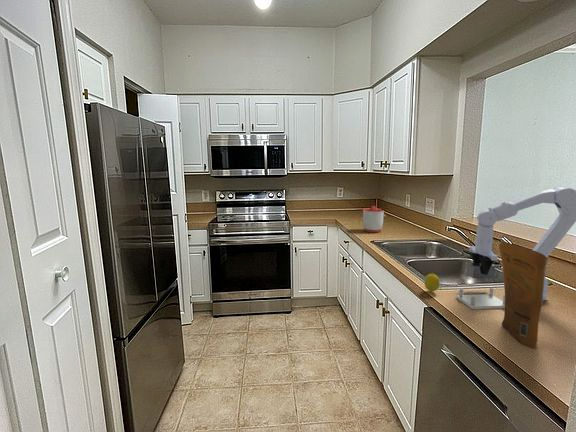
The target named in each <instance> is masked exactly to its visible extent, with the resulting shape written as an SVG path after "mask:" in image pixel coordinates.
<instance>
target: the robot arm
mask: <svg viewBox="0 0 576 432" xmlns="http://www.w3.org/2000/svg"><path fill="white" fill-rule="evenodd" d="M540 204H552V205H555V206H556V208H557V211H558V213H559V215H558V216H557V217H556V218H555V220H554V221H553V223H552V224H551V225H550V226H549V228H548V229H547V231H546V232H545V233H544V234H543V236H541V238H540V240H539V241H538V242H537V244H536V245H535V246H534V247H533V249H532V250H534V251H536V252H539V253H541V254H543V255H545V256H546V257H547V258H548V259H549V256H550V254H551V253H553V251H554V250H555V249H556V247H557V246H558V245H559V243H560V242H561V241H562V240H563V239H564V237H565V236H566V235H567V233H568V232H569V231H570V230H571V228H572V227H573V226H574V225H575V223H576V190H575V189H574V188H570V187H566V186H556V187H554V188H550V189H546V190H543V191H540V192H538V193H536V194H532V195H531V196H528V197H526V198H523V199H521V200H518V201H517V202H510V201H507V202H506V201H502V202H501V203H500V204H499V205H497V206H496V205H495V206H494V207H488V208H487V209H488V210H487V209H485V210H481V211H480V212H479V213H478V214H477V215H476V219H477V221H478V222H477V228H476V235H475V237H476V238H475V246H474V245H470V246H469V249H468V250H469V251H470V252H472V253H469V256H470V258H471V260H472V263H481V272H482V274H483V275H487V274H488V272H489V270H490V268H491V266H492V265H494V263H495V262H496V261H498V259H499V255H497V254H495V253H494V252H493V249H492V247H493V240H494V225H495V224H496V222H500V221H504V220H506V219H509V218H512V217H515V216H517V214H518V212H519V211H522V210H525V209H527V208H531V207H534V206H537V205H540ZM548 286H549V282H548V279H547V277H546V276H545V279H544V290H543V301H548V300H549V298H547V295H548Z"/></svg>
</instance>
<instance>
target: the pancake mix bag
mask: <svg viewBox="0 0 576 432" xmlns="http://www.w3.org/2000/svg"><path fill="white" fill-rule="evenodd" d="M498 250H499V254H500V258H501V259H500V260H501V269H502V276H503V287H504V295H505V308H504V317H503V320H502V322H501V327H502V328H503V329H504V330H506V331H507V332H508V333H509V334H510V335H511V336H512V337H514V339H516V340H517V342H518V343H520V344H522V345H524V346H526V347H530V348H533V349H538V347H537V346H538V340H539V339H538V337H539V336H538V334H539V333H538V332H539V322H540V317H541V311H542V305H543V301H544V300H543V290H544V279H545V277H546V272H547V271H546V269H547V263H548V260H549V257H548V258H547V257H546V256H545V255H543V254H541V253H539V252H536V251H534V250H533V249H530V248H528V247H523V246H520V245H516V244H513V243H510V242H507V241H506V240H502V241H501V242H499V244H498Z"/></svg>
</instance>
